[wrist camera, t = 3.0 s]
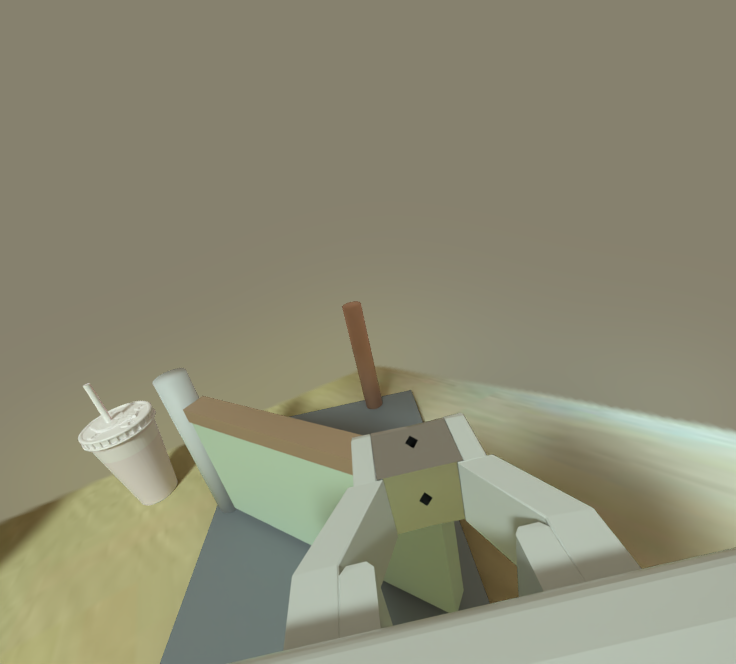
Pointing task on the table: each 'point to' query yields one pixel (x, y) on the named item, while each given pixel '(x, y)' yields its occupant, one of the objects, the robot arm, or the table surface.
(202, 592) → the board
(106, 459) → the smoothie
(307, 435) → the panel
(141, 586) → the table surface
